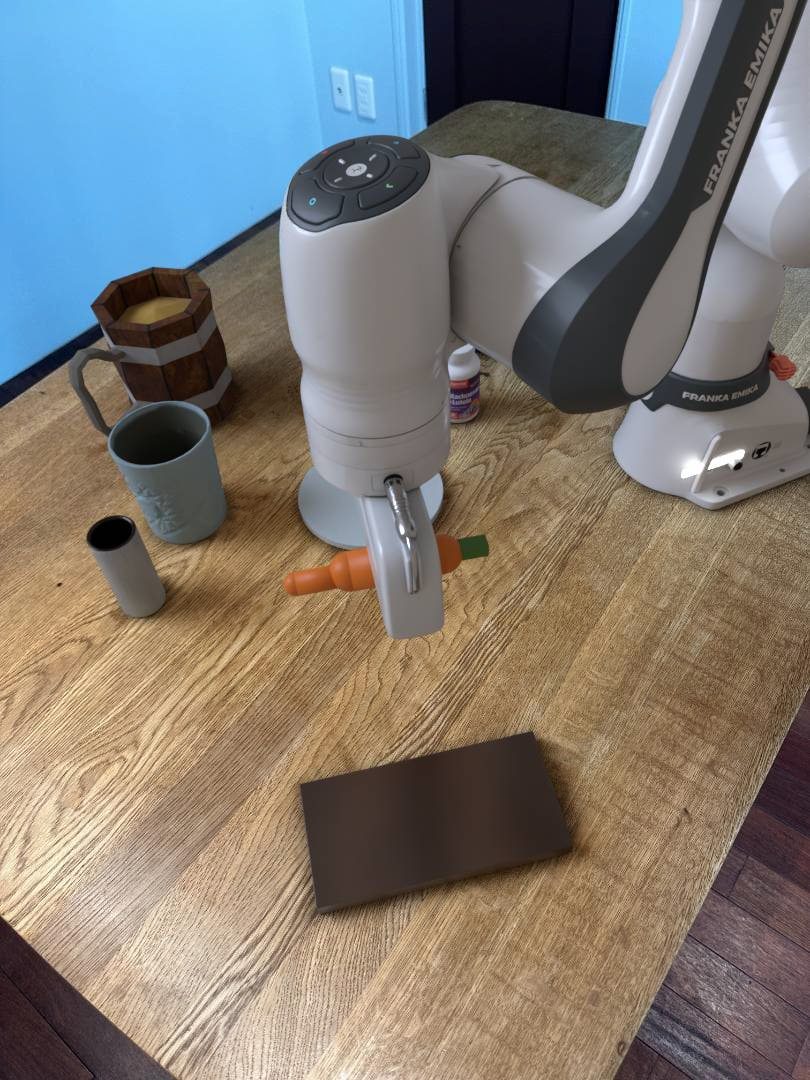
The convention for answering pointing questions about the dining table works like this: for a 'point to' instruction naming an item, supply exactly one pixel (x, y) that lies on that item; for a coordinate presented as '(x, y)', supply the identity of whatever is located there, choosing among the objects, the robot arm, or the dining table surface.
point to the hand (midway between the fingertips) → (391, 569)
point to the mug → (159, 344)
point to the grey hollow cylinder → (126, 565)
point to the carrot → (356, 571)
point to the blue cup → (171, 469)
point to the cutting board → (430, 821)
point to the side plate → (347, 509)
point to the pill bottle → (464, 384)
